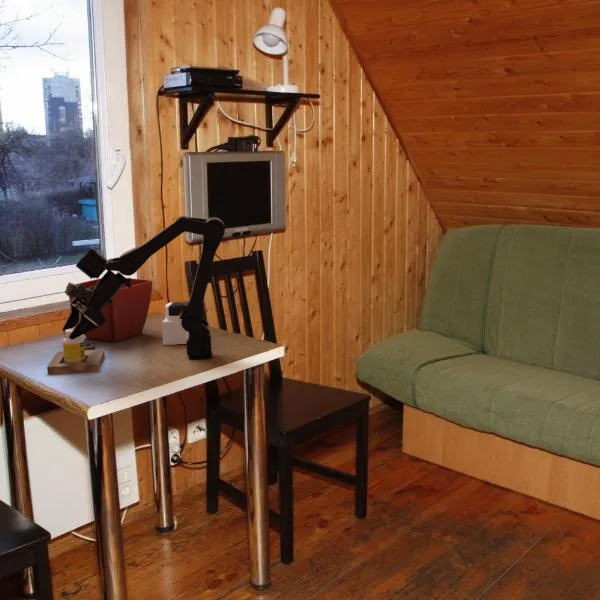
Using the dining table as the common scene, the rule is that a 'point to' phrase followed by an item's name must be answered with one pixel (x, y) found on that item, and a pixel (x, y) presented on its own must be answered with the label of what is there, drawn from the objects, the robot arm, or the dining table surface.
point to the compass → (88, 346)
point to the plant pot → (123, 311)
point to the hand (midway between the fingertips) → (66, 334)
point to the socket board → (90, 365)
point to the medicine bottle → (173, 325)
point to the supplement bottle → (73, 348)
